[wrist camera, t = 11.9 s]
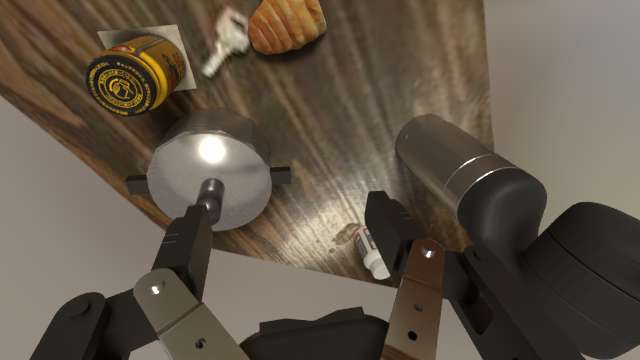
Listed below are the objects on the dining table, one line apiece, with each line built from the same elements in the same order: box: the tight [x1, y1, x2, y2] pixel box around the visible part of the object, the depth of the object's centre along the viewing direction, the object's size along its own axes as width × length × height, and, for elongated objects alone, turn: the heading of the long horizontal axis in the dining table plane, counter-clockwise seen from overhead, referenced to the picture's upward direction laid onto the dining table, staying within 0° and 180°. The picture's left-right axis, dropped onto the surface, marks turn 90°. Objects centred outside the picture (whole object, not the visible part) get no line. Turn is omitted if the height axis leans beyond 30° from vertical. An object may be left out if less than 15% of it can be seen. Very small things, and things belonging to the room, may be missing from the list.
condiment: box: [86, 25, 197, 116], centre depth 28 cm, size 7×8×12 cm
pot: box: [125, 108, 291, 195], centre depth 38 cm, size 20×14×8 cm
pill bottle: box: [354, 226, 390, 279], centre depth 53 cm, size 5×5×10 cm
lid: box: [148, 131, 272, 231], centre depth 33 cm, size 14×14×8 cm
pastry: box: [247, 0, 326, 55], centre depth 32 cm, size 9×7×4 cm
